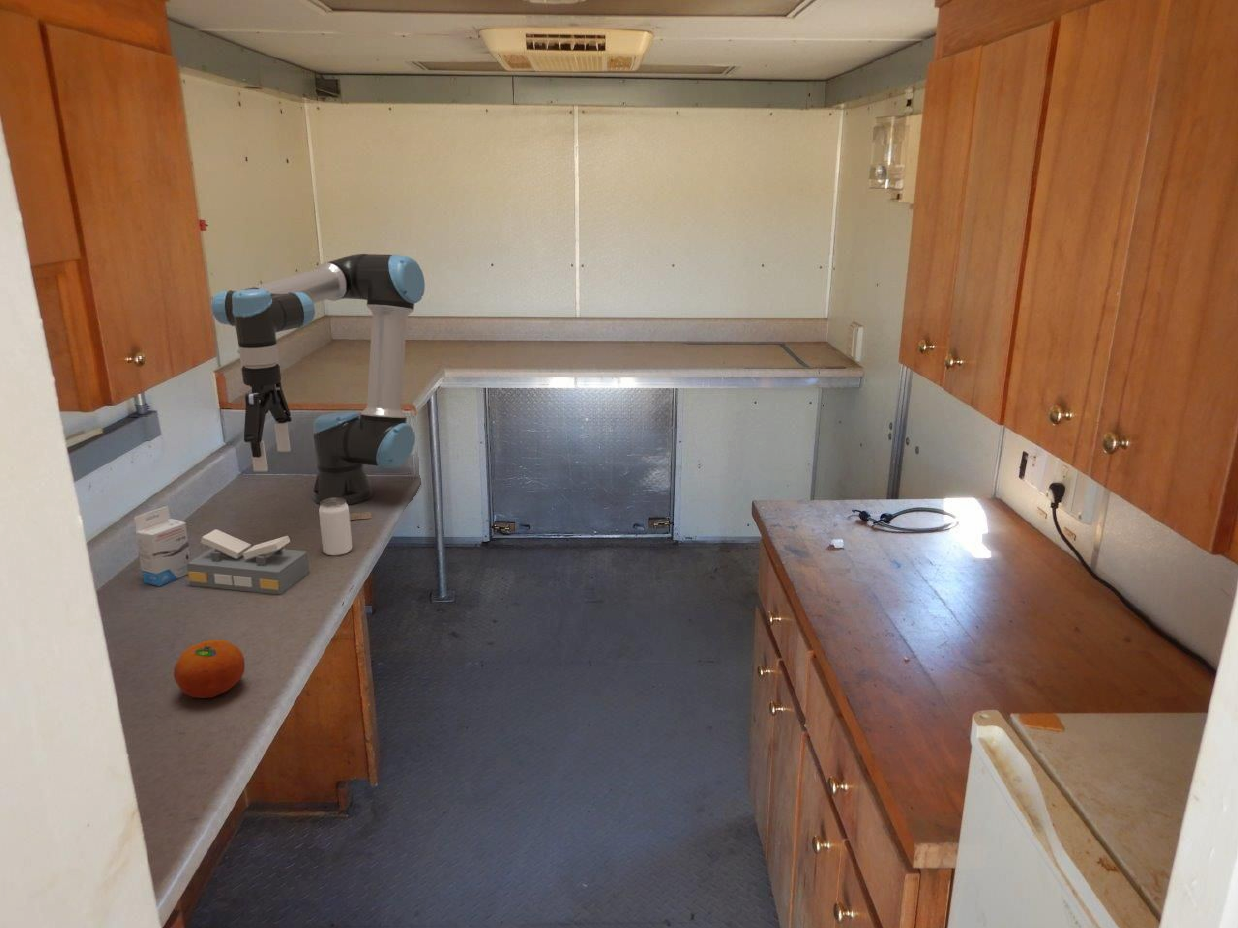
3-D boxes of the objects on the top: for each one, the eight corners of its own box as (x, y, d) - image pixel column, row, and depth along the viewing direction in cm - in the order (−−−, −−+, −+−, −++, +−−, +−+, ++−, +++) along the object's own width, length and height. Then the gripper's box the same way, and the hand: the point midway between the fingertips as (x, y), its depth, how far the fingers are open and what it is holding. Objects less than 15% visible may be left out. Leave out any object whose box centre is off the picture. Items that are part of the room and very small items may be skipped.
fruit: (196, 673, 150) (189, 631, 148) (256, 672, 150) (251, 631, 148) (166, 708, 140) (158, 664, 138) (231, 707, 140) (225, 664, 138)
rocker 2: (259, 555, 187) (255, 545, 186) (292, 545, 184) (287, 535, 184) (247, 563, 183) (242, 553, 182) (280, 554, 180) (275, 543, 180)
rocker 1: (213, 538, 188) (215, 528, 187) (248, 554, 187) (251, 544, 187) (200, 546, 184) (202, 536, 183) (235, 562, 183) (237, 553, 182)
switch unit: (222, 564, 193) (218, 535, 191) (309, 572, 190) (306, 543, 187) (189, 585, 183) (184, 555, 181) (280, 595, 179) (276, 564, 177)
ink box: (158, 587, 182) (147, 521, 178) (142, 582, 184) (131, 517, 180) (193, 572, 190) (184, 508, 185) (178, 568, 192) (168, 504, 187)
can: (344, 557, 198) (339, 507, 194) (317, 554, 199) (312, 505, 195) (357, 546, 204) (353, 498, 200) (332, 544, 205) (327, 496, 201)
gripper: (265, 353, 195) (276, 443, 202) (216, 378, 172) (231, 479, 178) (298, 353, 195) (309, 443, 202) (254, 378, 172) (268, 479, 178)
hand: (272, 460), depth 190 cm, fingers open, 13 cm apart
